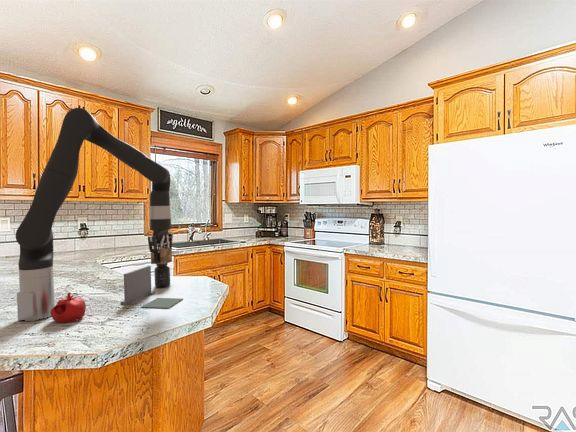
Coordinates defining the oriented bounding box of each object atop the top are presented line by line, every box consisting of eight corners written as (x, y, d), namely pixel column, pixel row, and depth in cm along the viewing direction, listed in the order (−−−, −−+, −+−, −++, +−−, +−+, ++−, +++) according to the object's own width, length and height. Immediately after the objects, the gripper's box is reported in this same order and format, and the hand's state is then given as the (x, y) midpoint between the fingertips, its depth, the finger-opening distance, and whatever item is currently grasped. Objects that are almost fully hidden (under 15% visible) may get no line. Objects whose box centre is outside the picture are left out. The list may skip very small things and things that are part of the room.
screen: (132, 305, 119) (131, 274, 118) (120, 304, 119) (119, 273, 119) (155, 293, 135) (154, 265, 134) (144, 292, 135) (144, 265, 135)
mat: (168, 308, 114) (168, 307, 114) (141, 307, 116) (141, 306, 115) (182, 299, 125) (182, 298, 125) (157, 298, 126) (157, 297, 126)
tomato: (80, 312, 111) (80, 287, 111) (91, 318, 105) (90, 291, 105) (46, 320, 104) (46, 292, 104) (55, 327, 97) (55, 297, 97)
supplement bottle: (173, 284, 149) (172, 259, 148) (166, 288, 142) (165, 262, 142) (159, 284, 150) (158, 259, 149) (151, 288, 143) (151, 262, 142)
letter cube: (164, 264, 116) (164, 249, 116) (151, 263, 117) (150, 249, 117) (172, 261, 122) (171, 247, 122) (159, 261, 123) (158, 247, 122)
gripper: (159, 218, 111) (160, 265, 112) (178, 216, 126) (179, 258, 126) (140, 218, 112) (141, 264, 113) (161, 217, 127) (162, 258, 127)
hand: (161, 261), depth 120 cm, fingers closed on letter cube, 5 cm apart
